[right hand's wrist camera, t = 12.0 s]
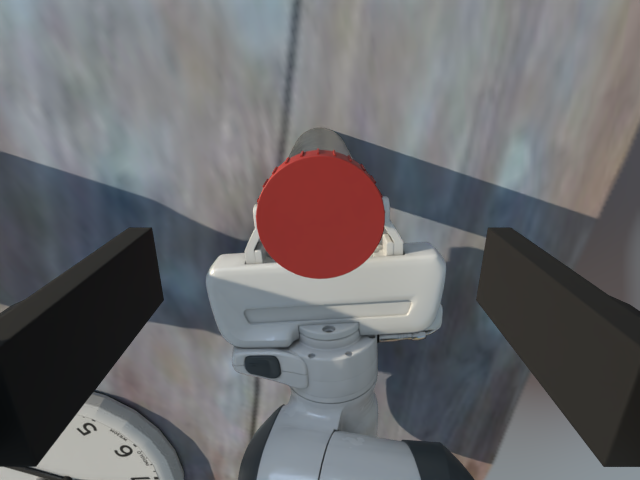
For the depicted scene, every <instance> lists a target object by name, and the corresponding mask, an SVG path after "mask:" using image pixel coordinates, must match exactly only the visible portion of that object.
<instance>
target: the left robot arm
mask: <svg viewBox="0 0 640 480" xmlns="http://www.w3.org/2000/svg"><path fill="white" fill-rule="evenodd" d="M382 200H383V204H384V210H385V225H384V227H385V229H386V230H387V232H388V233H389V234H383V245H378V246H377V248H376V249H375V251H374V252H373V254H372V255H371V256H370V257H369V258H368V259H367V260H366V261H365V262H364V263H363V264H362V265H361V266H359V267H358V268H356V269H355V270H353V271H351V272H349V273H347V274H344V275H342V276H338V277H334V278H328V279H313V278H307V277H303V276H300V275H296V274H294V273H292V272H290V271H288V270H286V269H285V268H283V267H282V266H280V265H279V264H278V263H277V262H276V261H275V260H274V259H273V258H272V257H271V256H270V255H269V254H268V252H266V250H265V248H264V246H263V244H262V242H261V241H259V242H258V240H259V238H260V237H259V234H258V230H257V224H256V210H257V204H255V206H254V208H253V215H254V223H255V229H254V231H253V233H252V235H251V238H250V240H249V242H248V244H247V246H246V249H245V253H235V254H222V255H220V256H219V257H218V258H217V259H216V260H215V262H214V263H213V264H212V266H211V267H210V269H209V271H208V273H207V275H206V288H207V293H208V297H209V301H210V305H211V309H212V312H213V315H214V318H215V321H216V324H217V327H218V329H219V331H220V333H221V335H222V336H223V338H224V339H225V340H226V341H227V342H229V343H230V344H232V345H234V347H233V354H232V365H233V368H234V370H235V371H237V372H238V373H241V374H245V375H250V376H255V377H260V378H264V379H268V380H272V381H276V382H279V383H283V384H286V385H288V386H290V390H291V396H290V400H289V403H288V404H287V405H284V404H283V405H282V406H280V407H279V408H278V409H277V410H276V411H275V412H274V413H273V414H272V415H271V416H270V417H269V418H268V419H267V420H266V421H265V422H264V424H263V425H262V426H261V427H260V428H259V429H258V430H257V432H256V433H255V434H254V436H253V438H252V439H251V441H250V443H249V445H248V447H247V449H246V452H245V454H244V457H243V459H242V462H241V466H240V471H239V477H238V480H474V479H473V477H472V476H471V474H470V473H469V472H468V471H467V469H466V468H465V467H464V466H463V465H462V464H461V462H460V461H459V460H458V459H457V458H456V457H455V456H454V455H453V454H452V453H451V452H450V451H449V450H448V449H447V448H446V447H445V446H443V445H442V444H441V443H438V442H426V441H413V440H402V441H397V440H391V439H385V438H379V437H377V433H378V402H377V398H376V395H375V392H374V388H375V385H376V382H377V376H378V354H377V343H378V342H394V341H400V340H406V339H407V340H422V339H425V338H426V335H430V334H432V333H434V332H435V331H436V330H438V329H439V328H440V327H441V324H442V314H443V306H442V303H441V299H442V294H443V289H444V283H445V276H446V262H445V260H444V258H443V257H442V255H441V254H440V252H439V251H438V250H437V249H436V248H435V247H434V246H433V245H432V244H430V243H428V242H416V243H403V240H402V238H401V236H400V235H399V233H398V231H397V230H396V228H395V226H394V225H393V223H392V222H391V220H390V203H389V199H388V197H387V196H383V198H382ZM425 330H427V331H425Z"/></svg>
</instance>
